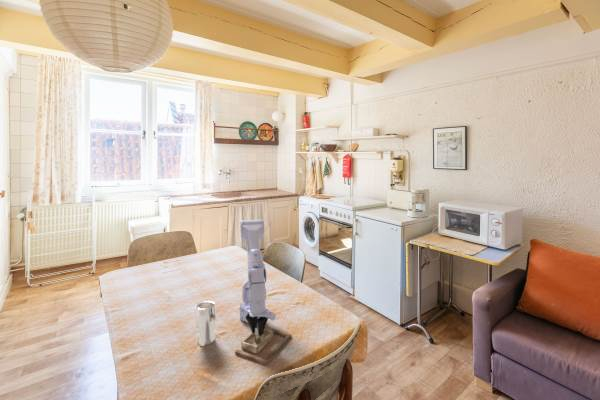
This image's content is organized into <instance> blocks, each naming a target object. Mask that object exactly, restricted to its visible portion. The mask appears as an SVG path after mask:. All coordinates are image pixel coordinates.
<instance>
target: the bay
mask: <svg viewBox="0 0 600 400" xmlns="http://www.w3.org/2000/svg"><path fill="white" fill-rule="evenodd" d="M264 329H267V330H271V331H273V335H278V336H281V337H284V338H283V339H282V340H281V342H279V343H278V344H277V346H276V347H275V348H274V349H273V350H272V351H271V352H270V353H269V355H268V356H267V357H266V358H262V357H260V356H257V355H255V354H251V353H248V352H246V351H243V350H241V349H236V350H235V352H234V353H235V355H236V356H239V357H243V358H244V359H245V358H246V359H247V360H250V361H252V362H256V363H259V364H262V365H264V366H268V364H270V363H271V361H272V360H273V359H274V357H275V356H276V355H277V354H278V353H279V352H280V350H282V348H283V347H284V346H285V345H286V343H287V342H288V341H289V340H290V339H291V338H292V334H291V333H288V332H285V331H282V330H279V329H275V328H271V327H268V326H265V328H264Z"/></svg>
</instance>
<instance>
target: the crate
mask: <svg viewBox="0 0 600 400" xmlns="http://www.w3.org/2000/svg"><path fill="white" fill-rule="evenodd" d="M274 337H275V336H274V333H273V331H271V330H267V329H264V333H263V334H262V335H261V336H260V335H259V332H258V324H257V325H256V326H255V333H254V334H253V333H252V332H251V333H250V334H249V335H247V336H246V337H245V338H244V339H243V340H242V341H241V343H240V344H241V349H242V350H244V351H248V352H251V353H253V354H257V355H258V354H259V353H260V352H261V351H262V350H263V349H264V348H265V347H266V346H267V345H268V344H269V343H270V341H271V340H273V339H274Z"/></svg>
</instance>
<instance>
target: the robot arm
mask: <svg viewBox="0 0 600 400" xmlns="http://www.w3.org/2000/svg"><path fill="white" fill-rule="evenodd" d="M239 225H240V227H239V228H240V238H241V240H242V241H245V244H246V247H247V249H246V250H247V280H245V281H244V282H243V283H242V285H241V286H242V289H241V292H242V294H241V295H242V296H241V297H242V301H241V302H240V305H239V320H240V321H243V322H246V323H247V324H249V327H250V330H251V333H253V334H254V333H255V326H256V325H258V332H259V335H260V336H261V335H262V334H263V333H264V328H265V327H266V324H267V322H268V320H269V319H270V321H272V322H273V321H275V320H276V318H277V314H276V313H275V312H272V311H271V310H270V309H268V308H266V300H267V289H266V283H267V269H266V266H265V263H264V256H263V254H264V253H263V252H262V250H260V240H261V239H263V237H264V233H265V222H264V220H263V219H248V220H247V219H246V220H245V219H244V220H243V219H241V220H240V223H239Z"/></svg>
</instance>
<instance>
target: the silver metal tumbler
mask: <svg viewBox="0 0 600 400" xmlns="http://www.w3.org/2000/svg"><path fill="white" fill-rule="evenodd" d="M215 305H216V304H215V302H214V301H210V300H205V301H202V302H199V303H198V304H196V310H195V311H196V312H195V313H196V315H195V317H196V319H195V320H196V324H197V328H198V332H199V338H198V339H199V340H198V345H199V346H200V347H204V346H205V345H209V344H212V343H213V342H215V340H216V336H215V326H216V319H217V317H216V315H217V314H216V306H215Z"/></svg>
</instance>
